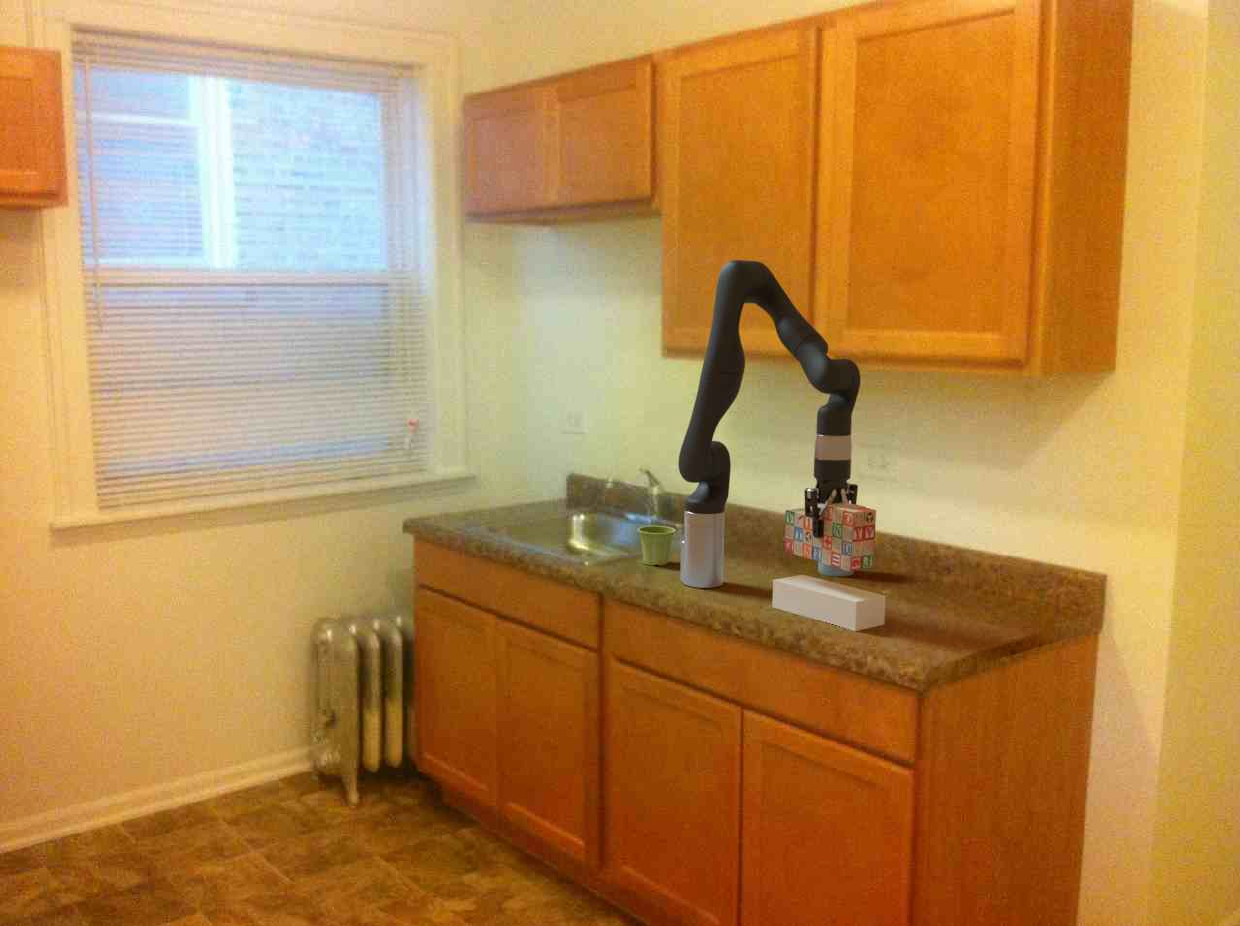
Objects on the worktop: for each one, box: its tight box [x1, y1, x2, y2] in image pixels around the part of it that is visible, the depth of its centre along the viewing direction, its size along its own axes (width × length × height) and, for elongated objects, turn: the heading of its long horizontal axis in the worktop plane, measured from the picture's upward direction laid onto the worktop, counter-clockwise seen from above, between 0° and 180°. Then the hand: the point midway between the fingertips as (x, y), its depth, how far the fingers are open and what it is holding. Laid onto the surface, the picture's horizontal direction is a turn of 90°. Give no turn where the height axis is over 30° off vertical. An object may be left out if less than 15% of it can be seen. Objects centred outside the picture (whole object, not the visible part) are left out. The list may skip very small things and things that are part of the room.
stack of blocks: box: [784, 502, 877, 572], centre depth 243 cm, size 21×6×12 cm, turn 31°
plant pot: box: [637, 525, 676, 567], centre depth 292 cm, size 9×9×9 cm
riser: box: [772, 574, 886, 632], centre depth 245 cm, size 23×9×6 cm, turn 38°
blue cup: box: [817, 561, 855, 578], centre depth 285 cm, size 10×10×12 cm
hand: (829, 535), depth 243 cm, fingers closed on stack of blocks, 6 cm apart
